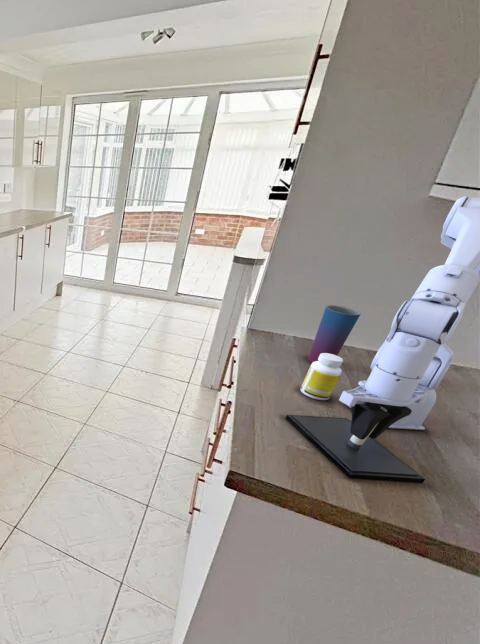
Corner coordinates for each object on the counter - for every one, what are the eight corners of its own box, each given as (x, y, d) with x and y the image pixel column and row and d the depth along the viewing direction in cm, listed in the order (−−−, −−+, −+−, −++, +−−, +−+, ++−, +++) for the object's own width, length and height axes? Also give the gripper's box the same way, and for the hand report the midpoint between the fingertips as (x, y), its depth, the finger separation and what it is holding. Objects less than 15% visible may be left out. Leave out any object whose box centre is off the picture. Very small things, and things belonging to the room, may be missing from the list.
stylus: (353, 441, 76) (380, 404, 72) (362, 449, 75) (390, 411, 70) (344, 442, 76) (371, 405, 72) (353, 449, 75) (380, 412, 70)
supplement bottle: (334, 402, 91) (353, 364, 87) (307, 399, 92) (324, 361, 88) (320, 389, 96) (337, 352, 92) (294, 386, 97) (310, 349, 93)
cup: (297, 356, 111) (319, 305, 105) (319, 356, 112) (342, 304, 106) (319, 368, 105) (343, 315, 99) (342, 368, 106) (368, 314, 100)
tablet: (345, 422, 84) (347, 417, 84) (422, 483, 69) (426, 478, 69) (285, 418, 85) (287, 413, 84) (349, 478, 70) (352, 473, 69)
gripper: (410, 358, 73) (375, 420, 78) (337, 359, 71) (307, 423, 77) (457, 378, 66) (415, 444, 72) (378, 381, 65) (342, 448, 70)
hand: (362, 435), depth 74 cm, fingers closed on stylus, 2 cm apart
